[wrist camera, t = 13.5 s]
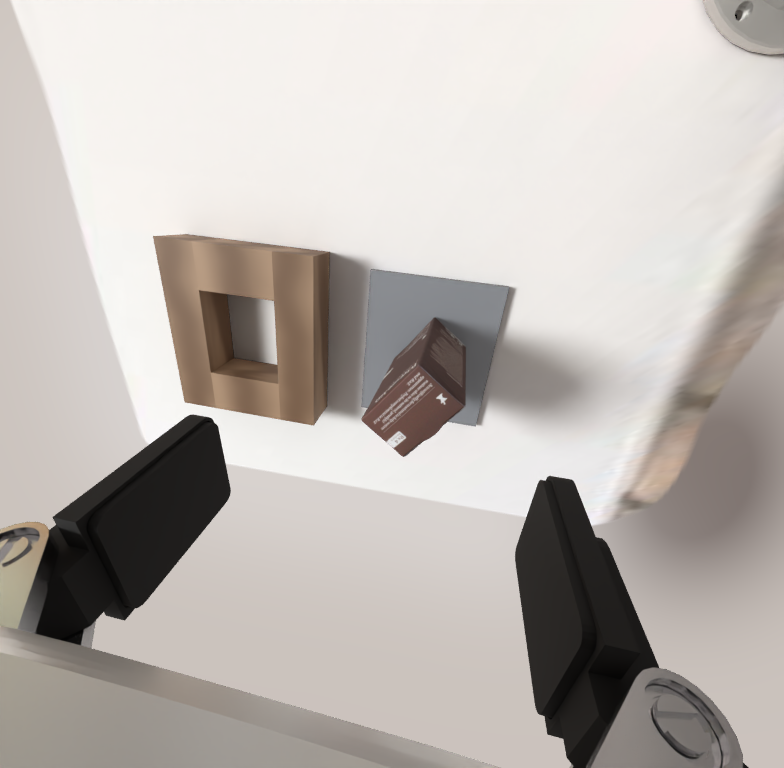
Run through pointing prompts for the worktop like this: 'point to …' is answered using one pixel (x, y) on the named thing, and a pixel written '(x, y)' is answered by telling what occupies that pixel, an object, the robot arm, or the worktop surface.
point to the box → (420, 389)
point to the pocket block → (213, 331)
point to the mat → (416, 309)
